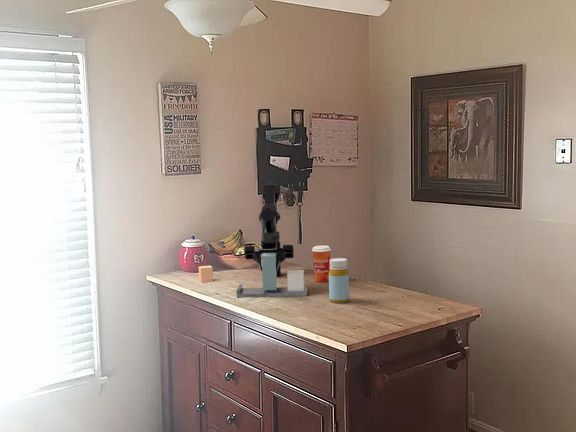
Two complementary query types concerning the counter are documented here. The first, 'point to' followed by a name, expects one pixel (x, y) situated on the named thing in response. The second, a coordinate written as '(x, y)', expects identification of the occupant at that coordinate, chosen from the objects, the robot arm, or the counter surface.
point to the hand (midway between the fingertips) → (268, 270)
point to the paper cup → (321, 263)
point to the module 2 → (269, 271)
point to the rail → (293, 289)
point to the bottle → (338, 280)
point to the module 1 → (205, 274)
